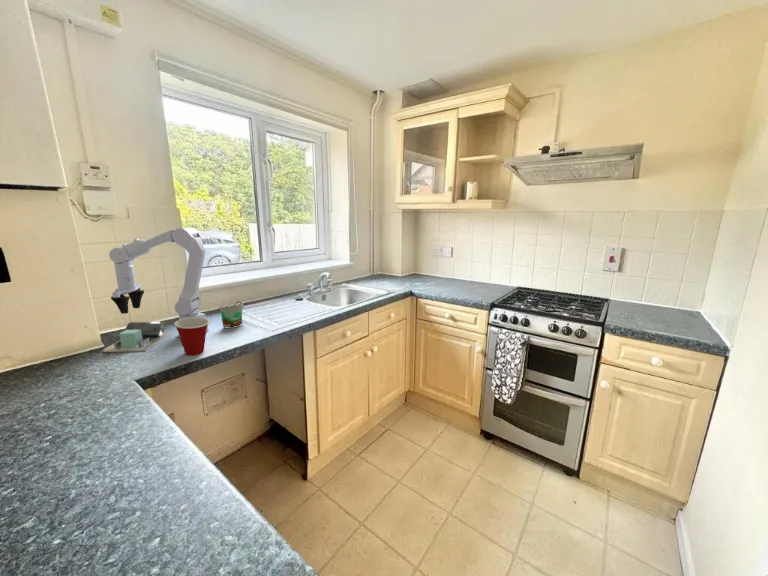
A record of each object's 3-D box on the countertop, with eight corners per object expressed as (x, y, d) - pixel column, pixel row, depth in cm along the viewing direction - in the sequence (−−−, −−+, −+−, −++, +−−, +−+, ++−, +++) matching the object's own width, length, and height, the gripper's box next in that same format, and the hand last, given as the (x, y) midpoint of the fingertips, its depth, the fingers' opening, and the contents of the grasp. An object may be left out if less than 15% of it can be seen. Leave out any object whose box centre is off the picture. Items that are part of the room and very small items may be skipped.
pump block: (142, 341, 121) (141, 329, 120) (136, 346, 117) (134, 333, 116) (128, 342, 120) (126, 329, 119) (121, 346, 117) (119, 333, 116)
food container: (233, 330, 139) (231, 308, 137) (221, 329, 140) (219, 307, 138) (250, 321, 151) (249, 301, 149) (238, 320, 152) (237, 300, 150)
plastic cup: (200, 359, 110) (197, 326, 108) (170, 358, 111) (166, 325, 108) (218, 347, 121) (215, 317, 118) (190, 346, 121) (187, 316, 119)
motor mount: (169, 334, 132) (167, 319, 130) (145, 351, 116) (143, 333, 114) (132, 335, 130) (130, 320, 128) (103, 352, 114) (100, 334, 112)
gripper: (126, 274, 132) (131, 305, 135) (101, 281, 118) (107, 316, 121) (145, 274, 133) (149, 305, 136) (122, 281, 119) (127, 315, 122)
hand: (130, 310), depth 129 cm, fingers open, 7 cm apart
